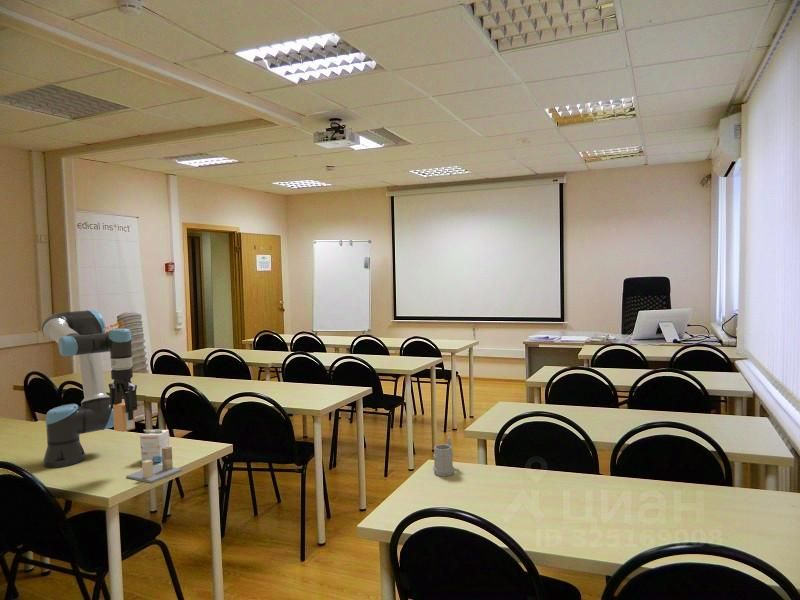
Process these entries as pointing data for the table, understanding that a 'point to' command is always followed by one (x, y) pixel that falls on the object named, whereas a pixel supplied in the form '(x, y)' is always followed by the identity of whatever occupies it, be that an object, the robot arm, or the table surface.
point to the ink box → (153, 444)
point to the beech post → (167, 458)
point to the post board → (155, 474)
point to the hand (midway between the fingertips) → (124, 427)
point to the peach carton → (121, 417)
